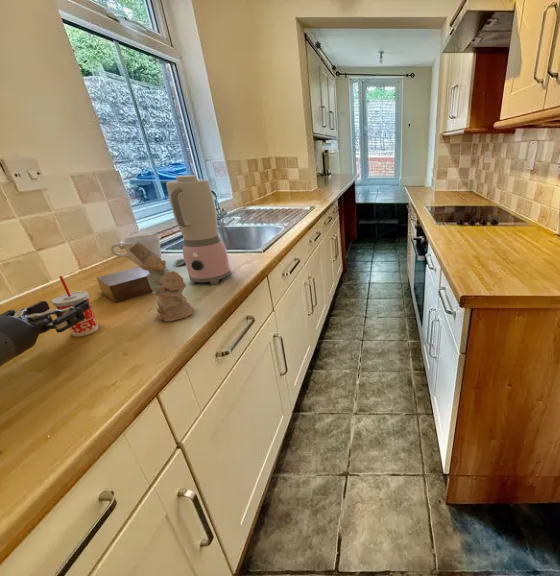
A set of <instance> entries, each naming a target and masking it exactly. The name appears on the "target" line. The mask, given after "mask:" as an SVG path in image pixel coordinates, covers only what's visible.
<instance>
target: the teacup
mask: <svg viewBox="0 0 560 576" xmlns="http://www.w3.org/2000/svg"><path fill="white" fill-rule="evenodd" d="M161 238H162V237H161V236H160V235H157V234H145V235H144V234H143V235H137V236H136V235H135V236H132V237H127V238H123V239H121V240H120V241H119V243H117V242H116V243H112V244H111V245H110V249H109V250H110V252H111V253H112V254H113V255H115V256H117V257H122V258H127V259H128V260H130V261H131V262H132V263H133V264H135V265H138V266H139V267H141V268H142V262H141V261H140V260H139V259H138V258H137V257H136V256H135V255H134V254H133V253H132V252H131V251H130V250H129V249H130V248H131V247H132V246H133V245H134V244H135V243H137V242H140V243H141V244H142V245H144V246H145V247H146V248H147V249H149V250H150V251H152V252H153V253H155V254H158V255H159V257H160V258H161V259H162V249H161V242H160V241H161ZM121 245H122V246H121ZM116 247H118V248H119V249H120V250H123V249H124V250H125V251H126V254H124V253H118V252H116V251H115V248H116Z"/></svg>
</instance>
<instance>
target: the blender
mask: <svg viewBox="0 0 560 576" xmlns="http://www.w3.org/2000/svg"><path fill="white" fill-rule="evenodd" d="M175 178H176V179H175V180H168V181H166V183H165V185H166V190H167V195H168V199H169V202H170V208H171V211H172V214H173V217H174V220H175V222H176V224H177V226H178V229H179V231H180V233H181V235H182V238H183V246H182V255H183V259H184V260H185V263H186V265H185V266H186V270H187V274H188V277H189V280H190V283H191V284H192V285H195V284H196V283H208V282H209V283H210V285H212V286H213V285H217V284H219V283H220V282H219V281H220V280H223V279H224V278H226V277H227V278H228V276H230V275H231V273H232V269H231V267H230V262H229V257H228V252H227V248H226V246H225V244H224V242H223V241H222V239H221V238H220V236H219V231H218V215H217V209H216V204H215V199H214V195H213V192H212V189H211V185H210V181H209V180H208V179H203V178H198V177H197V175H194V174H193V175H192V174H188V175H185V174H184V175H177V176H176V177H175Z"/></svg>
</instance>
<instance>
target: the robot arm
mask: <svg viewBox="0 0 560 576" xmlns="http://www.w3.org/2000/svg"><path fill="white" fill-rule="evenodd" d="M90 305H91V304H90ZM90 305H89V303H88V301H87V300H81V301H79V302H77V303H75V304H74V305H72V306H70V307H68V308H65V309H61V310H58V309H57V308H54V309H50V305H49V303H48V301H46V300H40V301H38V302H36V303H34V304H32V305H30V306H28V307H21V308H19V309H18V310H17V311H16V310H15V309H9V310H6V311H5V312H2V313H0V368H1V367H2V366H4V365H5V364H7V363H9V362H10V361H12V360H14V359H15V358H17V357H18V356H20V355H21V354H24V353H25V352H27V351H28V350H30V349H31V348H33V347H34V346H35V345H36V343H37V341H38V338H39V335H42V334H45V333H47V332H49V331H50V330H55V332H56V333H58V334H59V333H63V332H65V331H67V330H69V328H70V327H72V326H74V325H75V324H77V323H79V322H80V321H82V320H84V319H85V316H84V313H83V312H84V311H86V310H88V309H89V308H90ZM66 312H68V313H66ZM63 313H66V314H64V315H62V314H63ZM52 315H55V318H54V319H53V318H52Z"/></svg>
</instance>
